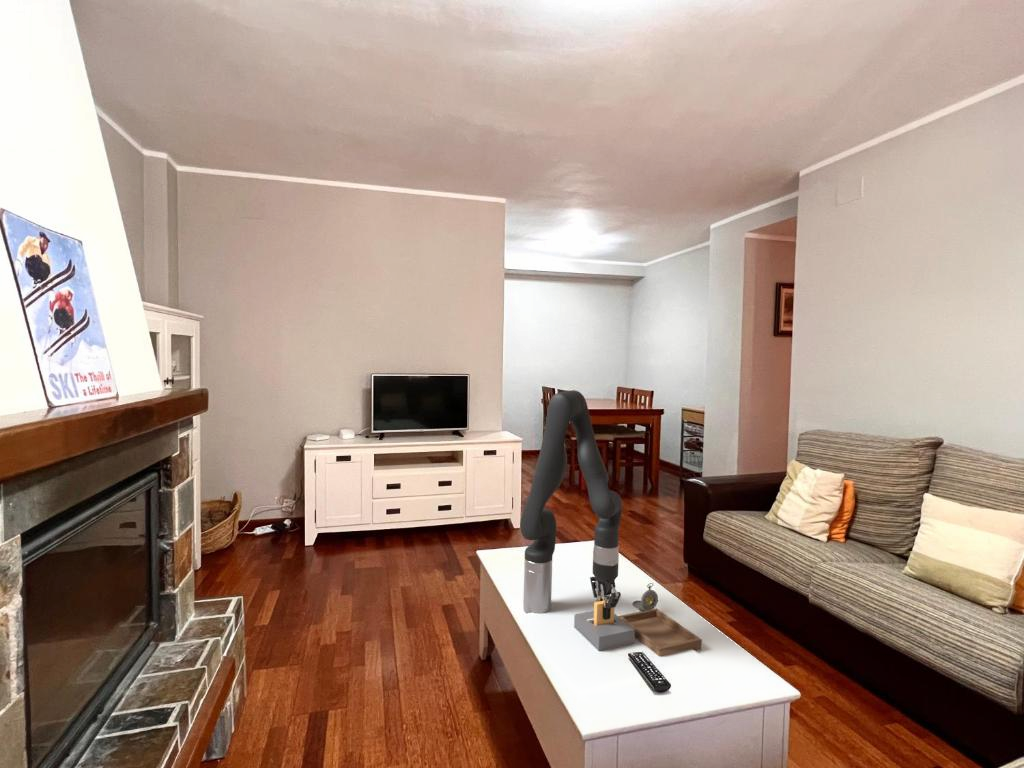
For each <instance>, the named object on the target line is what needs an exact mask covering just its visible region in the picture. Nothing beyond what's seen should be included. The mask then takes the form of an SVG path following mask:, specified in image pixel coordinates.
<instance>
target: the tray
mask: <svg viewBox="0 0 1024 768" xmlns="http://www.w3.org/2000/svg"><path fill="white" fill-rule="evenodd" d="M617 616H618V617H620V618H621V619H622V620H623V621H625V622H626V623H627V624H628V625H630V626H631V627H632V628H633V629H635V637H634V638H636V639H637V640H638V641H640V642H641V643H642V644H643V645H645V646H646V647H647V648H648V649H650V650H651V651H652V652H653V654H655V655H657V656H658V657H662V656H668V655H671V654H674V653H676V654H677V653H679V652H683V651H687V650H691V649H692V650H693V651H694V652H696V651H702V643H703V642H702V641H703V640H702V638H700V637H699V636H697V635H696V634H694V633H693V632H691V631H690V630H689V629H688V628H686V627H684V626H683V625H681V624H680V623H679V622H677V621H676V620H674V619H673V618H671V616H669V615H667V614H666V613H664V612H663V611H661V610H660V609H658V608H653V609H652V610H647V611H638V612H631V613H627V614H622V615H617Z"/></svg>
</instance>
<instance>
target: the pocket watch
mask: <svg viewBox="0 0 1024 768" xmlns="http://www.w3.org/2000/svg"><path fill="white" fill-rule="evenodd" d="M653 586H654V583H651V582H650V583H648V584H647V585H646V587H647V588H648V590H646V591H645V592H643V594H642V595H641V598H640V600H635V601H633V602H632V603H631V605H632V606H633V607H634V608H636V609H637V610H639V612H641V611H647V610H652V609H655V607H657V604H658V601H659V596H658V594H657V592H656V591H655V590H653V589H652V587H653Z"/></svg>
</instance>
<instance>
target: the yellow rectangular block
mask: <svg viewBox="0 0 1024 768" xmlns="http://www.w3.org/2000/svg"><path fill="white" fill-rule="evenodd" d="M608 601H609V600H607V603H608ZM603 607H604V606H603V601H599V602H597V601H595V602H594V603H593V611H594V625H595V626H598V625H603V624H608V623H613V622H614V613H615V607H613V608H611V617H610V619H607V620H604V619H603Z"/></svg>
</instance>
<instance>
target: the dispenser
mask: <svg viewBox="0 0 1024 768" xmlns="http://www.w3.org/2000/svg"><path fill="white" fill-rule="evenodd" d="M618 616H619V615H617V614H616V613H615V612H614V622H613V623H608V624H603V625H598V626H595V625H594V610H591V611H585V612H579V613H576V614H574V621H573V622H574V623H573V628H574V629H575V630H576V631H577V632H578V633H579V634H580V635H581V636H583V638H585V639H586V640H587V642H588V643H590V645H592V646H593V647H594V649H596V651H598V652H601V651H606V650H611V649H614V648H615V649H616V648H619V647H624V646H629V645H633V644H634V645H635V638H636V637H635V629H633V628H632V627H631V626H630V625H628V624H627V623H626V622H625V621H623V620H622V619H621V618H620V617H618Z"/></svg>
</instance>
